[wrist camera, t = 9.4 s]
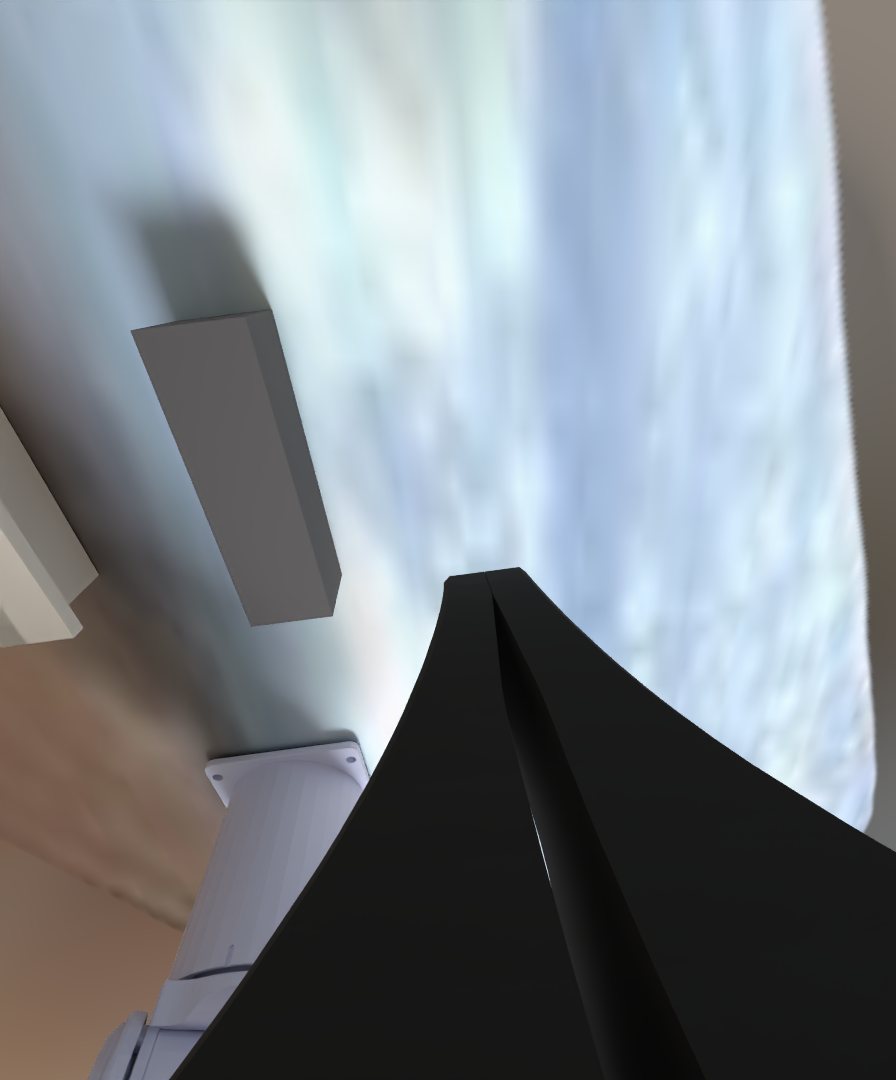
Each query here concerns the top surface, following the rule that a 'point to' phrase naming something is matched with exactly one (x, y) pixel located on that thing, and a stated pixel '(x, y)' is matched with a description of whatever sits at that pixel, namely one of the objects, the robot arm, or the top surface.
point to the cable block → (247, 459)
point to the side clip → (35, 553)
